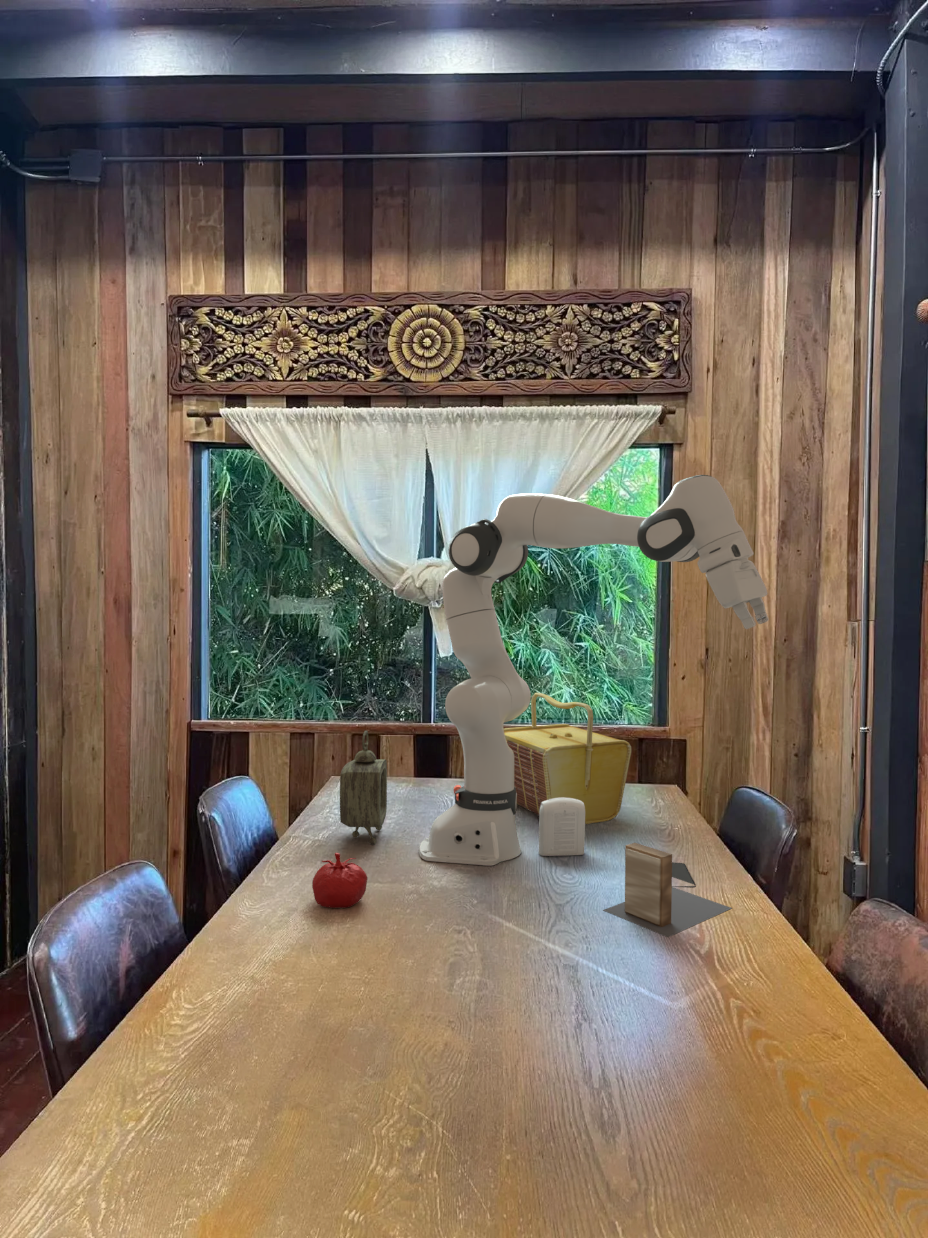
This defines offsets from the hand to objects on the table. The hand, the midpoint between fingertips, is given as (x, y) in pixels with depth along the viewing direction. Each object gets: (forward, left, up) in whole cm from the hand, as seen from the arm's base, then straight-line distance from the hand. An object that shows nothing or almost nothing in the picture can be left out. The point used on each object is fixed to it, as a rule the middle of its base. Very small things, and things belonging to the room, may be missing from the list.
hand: (757, 625), depth 142 cm
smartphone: (-11, +15, -52) cm, 55 cm away
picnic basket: (-29, +61, -52) cm, 85 cm away
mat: (-16, -4, -52) cm, 54 cm away
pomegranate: (-76, 0, -52) cm, 92 cm away
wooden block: (-21, -7, -51) cm, 56 cm away
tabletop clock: (-77, +38, -52) cm, 100 cm away
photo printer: (-32, +28, -52) cm, 67 cm away
